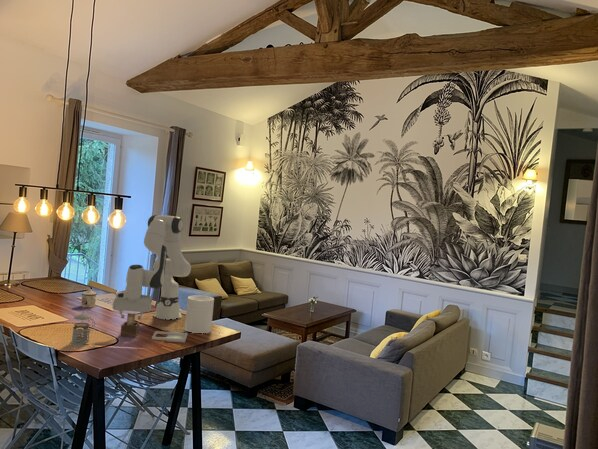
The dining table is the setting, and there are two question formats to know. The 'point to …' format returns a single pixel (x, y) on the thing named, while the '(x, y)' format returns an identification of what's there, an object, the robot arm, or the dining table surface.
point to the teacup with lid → (88, 299)
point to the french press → (81, 330)
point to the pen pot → (129, 330)
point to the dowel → (131, 319)
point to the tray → (171, 336)
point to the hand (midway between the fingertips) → (131, 318)
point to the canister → (199, 314)
